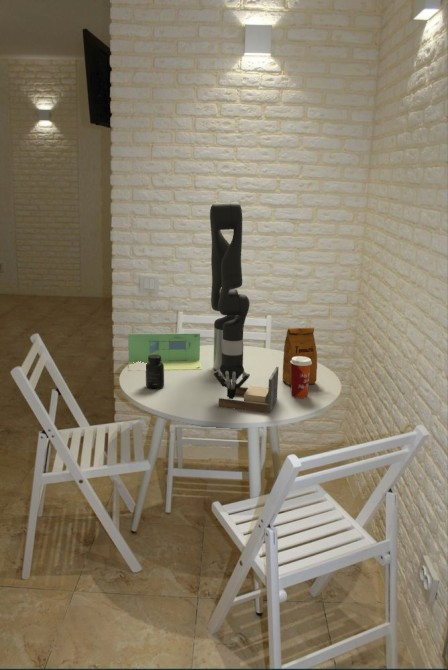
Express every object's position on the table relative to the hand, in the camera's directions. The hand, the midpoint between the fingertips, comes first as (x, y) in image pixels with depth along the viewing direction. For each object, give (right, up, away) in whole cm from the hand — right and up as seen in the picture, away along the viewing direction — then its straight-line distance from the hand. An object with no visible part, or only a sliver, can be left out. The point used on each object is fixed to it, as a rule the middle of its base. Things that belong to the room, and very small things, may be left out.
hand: (231, 398), depth 211 cm
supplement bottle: (-28, +3, +12) cm, 31 cm away
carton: (+9, -2, -2) cm, 9 cm away
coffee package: (+27, +4, +20) cm, 34 cm away
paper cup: (+25, 0, +7) cm, 26 cm away
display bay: (+6, -2, -2) cm, 6 cm away
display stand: (-27, +9, +37) cm, 47 cm away
